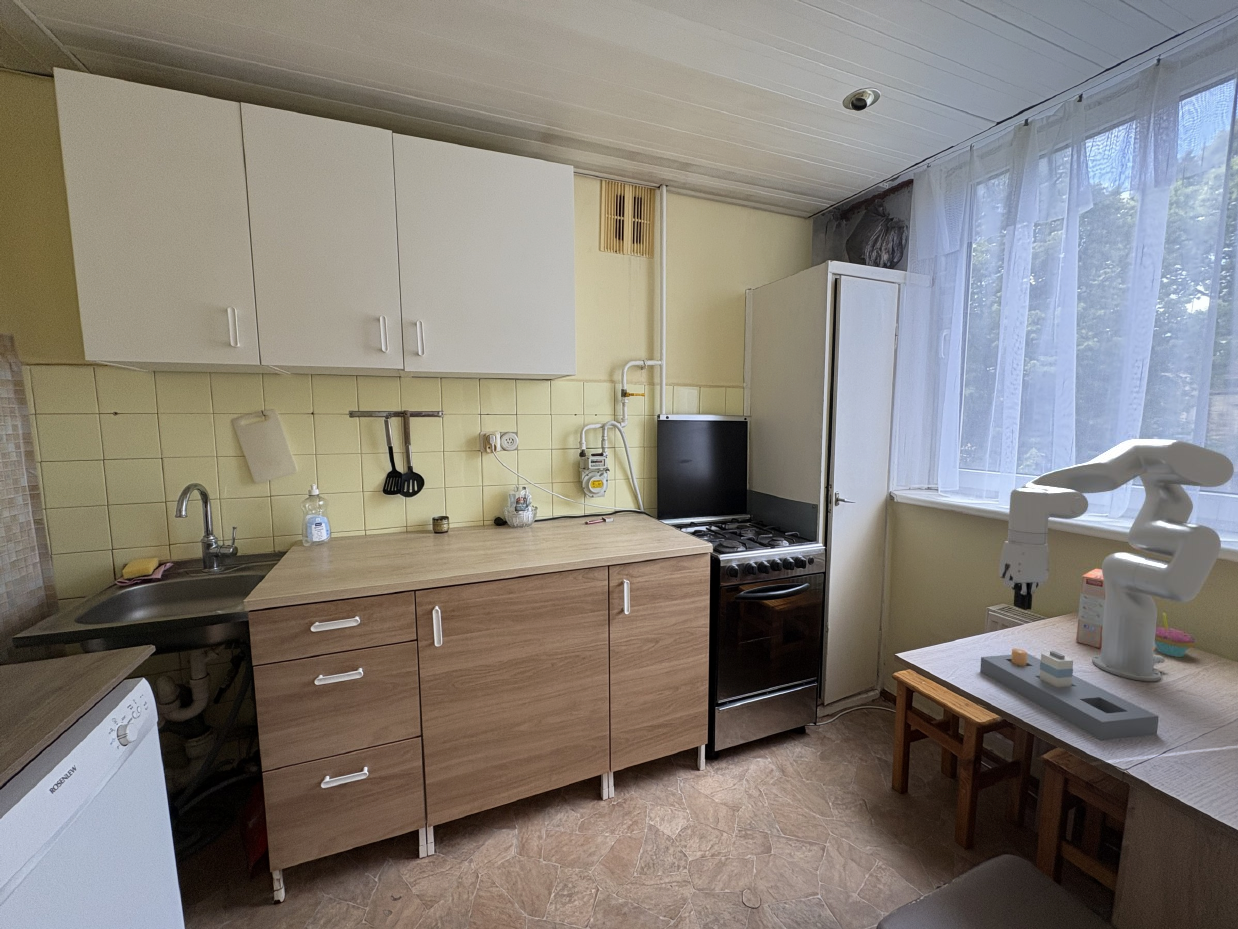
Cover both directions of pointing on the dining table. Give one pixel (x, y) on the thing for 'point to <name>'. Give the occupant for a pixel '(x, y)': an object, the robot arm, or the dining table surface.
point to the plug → (1056, 669)
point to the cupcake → (1172, 640)
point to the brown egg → (1019, 657)
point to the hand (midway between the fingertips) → (1022, 607)
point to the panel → (1073, 700)
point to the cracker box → (1091, 609)
